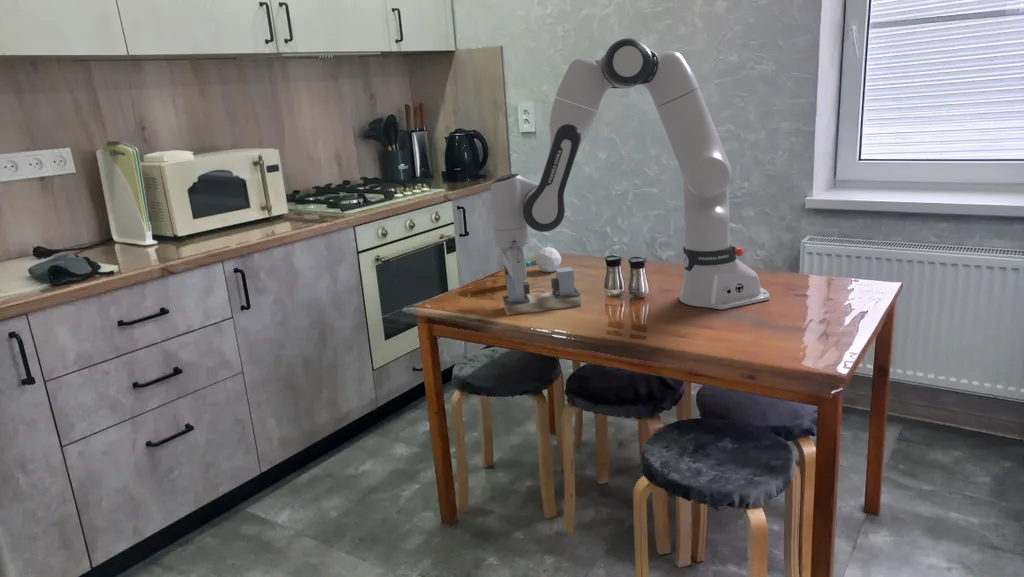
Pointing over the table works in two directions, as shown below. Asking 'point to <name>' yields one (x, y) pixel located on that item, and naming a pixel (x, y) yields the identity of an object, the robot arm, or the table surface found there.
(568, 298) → the rail
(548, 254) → the perfume bottle
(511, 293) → the block
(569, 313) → the table surface
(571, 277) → the block
